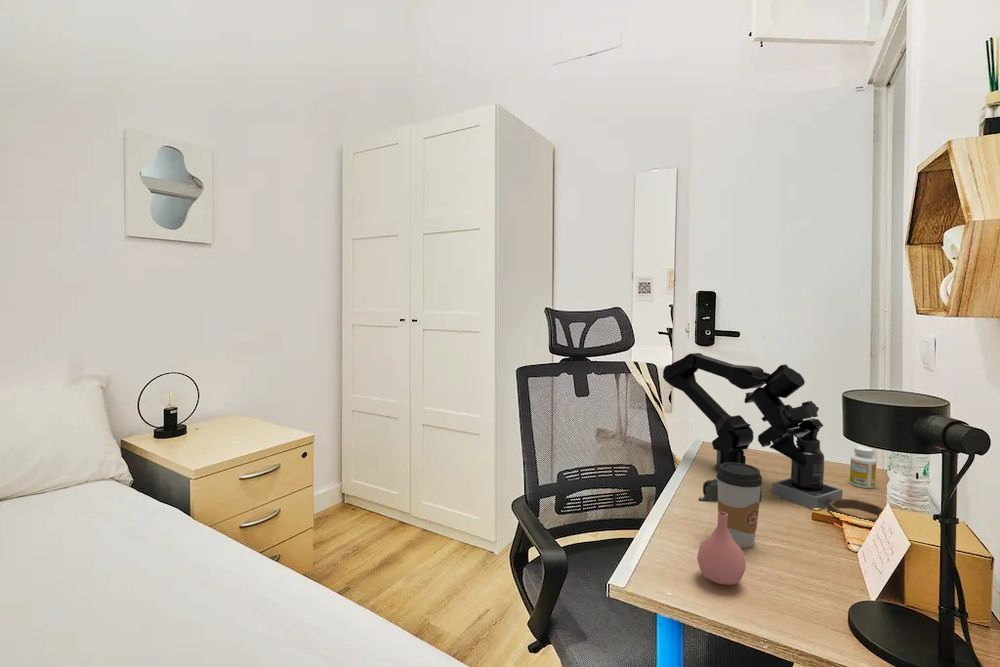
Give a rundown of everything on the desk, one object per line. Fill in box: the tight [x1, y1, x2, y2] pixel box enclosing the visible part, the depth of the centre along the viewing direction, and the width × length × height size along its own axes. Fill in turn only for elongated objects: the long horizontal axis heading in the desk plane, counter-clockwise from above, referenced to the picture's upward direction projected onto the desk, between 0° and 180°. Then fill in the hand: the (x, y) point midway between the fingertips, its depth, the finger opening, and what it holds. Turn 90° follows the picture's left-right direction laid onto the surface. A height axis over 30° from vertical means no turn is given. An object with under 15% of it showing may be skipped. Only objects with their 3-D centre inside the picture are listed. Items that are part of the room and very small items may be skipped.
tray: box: [771, 477, 844, 510], centre depth 121 cm, size 11×11×3 cm
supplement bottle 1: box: [790, 437, 825, 492], centre depth 121 cm, size 7×7×12 cm
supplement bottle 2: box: [849, 446, 877, 489], centre depth 129 cm, size 5×5×10 cm
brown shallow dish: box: [827, 498, 884, 522], centre depth 111 cm, size 11×11×2 cm
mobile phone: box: [698, 478, 763, 503], centre depth 120 cm, size 5×3×15 cm
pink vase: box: [696, 511, 747, 586], centre depth 85 cm, size 8×8×12 cm
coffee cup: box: [715, 462, 763, 549], centre depth 99 cm, size 8×8×15 cm
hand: (813, 462), depth 119 cm, fingers closed on supplement bottle 1, 7 cm apart
